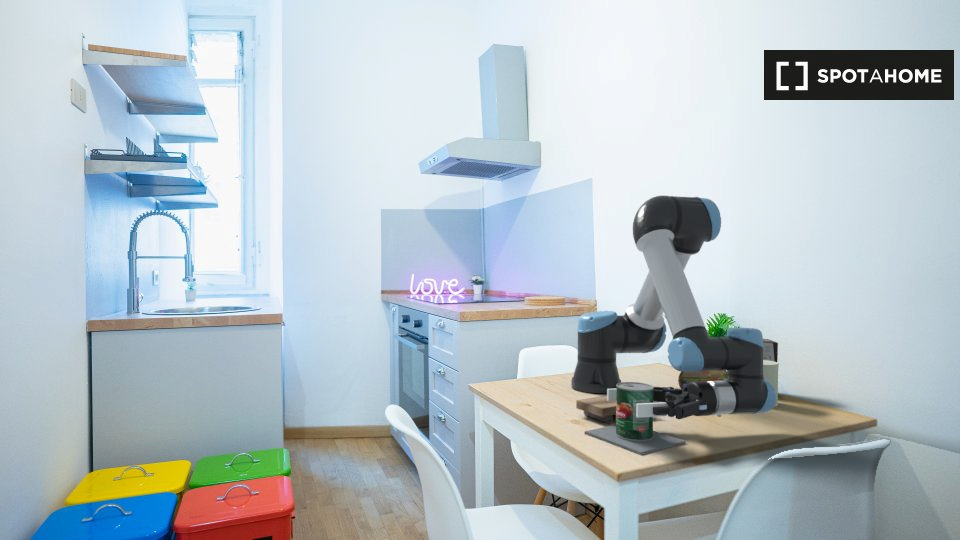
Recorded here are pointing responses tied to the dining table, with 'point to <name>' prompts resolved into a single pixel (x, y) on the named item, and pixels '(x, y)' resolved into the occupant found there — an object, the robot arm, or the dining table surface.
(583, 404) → the wooden serving board
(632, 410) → the canned tomato
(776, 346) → the coffee box
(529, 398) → the dining table surface
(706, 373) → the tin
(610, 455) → the dining table surface
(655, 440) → the flat gray pad
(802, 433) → the dining table surface
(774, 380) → the pale green cup
